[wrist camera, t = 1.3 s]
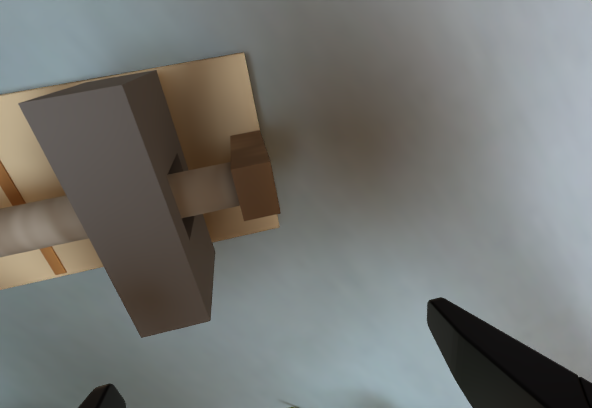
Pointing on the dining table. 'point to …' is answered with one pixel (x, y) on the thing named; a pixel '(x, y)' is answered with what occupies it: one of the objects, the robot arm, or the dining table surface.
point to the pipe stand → (185, 185)
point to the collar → (129, 194)
